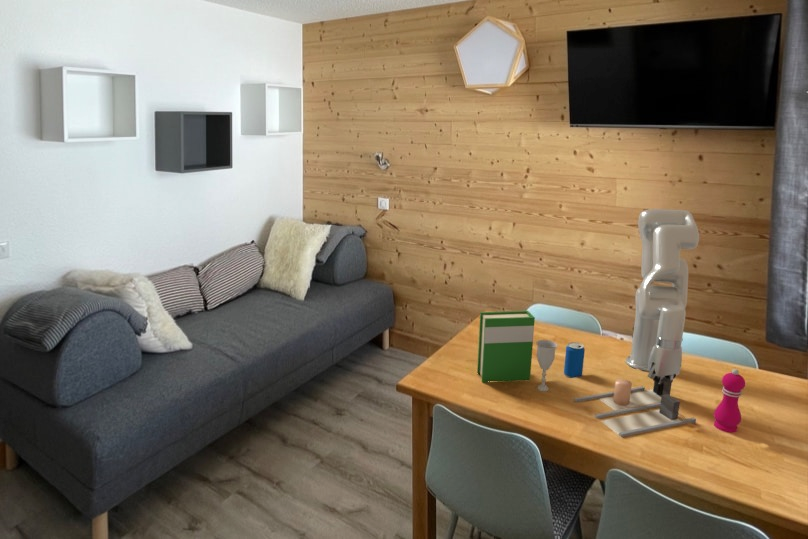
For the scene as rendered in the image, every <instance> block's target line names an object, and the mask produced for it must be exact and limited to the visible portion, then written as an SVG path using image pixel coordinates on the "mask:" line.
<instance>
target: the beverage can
mask: <svg viewBox="0 0 808 539" xmlns="http://www.w3.org/2000/svg"><path fill="white" fill-rule="evenodd" d="M585 350H586V349H585V346H584V344H583V343H580V342H573V341H572V342H569V343H567V345H566V347H565V356H564V367H563V374H564V375H565V376H566V377H567V378H569V379H575V378H579V377H582V376H583V372H584V371H583V370H584V360H585V352H586V351H585Z"/></svg>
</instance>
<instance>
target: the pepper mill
mask: <svg viewBox="0 0 808 539" xmlns="http://www.w3.org/2000/svg"><path fill="white" fill-rule="evenodd" d="M721 384H722V385H723V387H722V390H721V392H722V393H723V396H722V400H721V401H720V403H719V404H718V405H717V407H716V408H715V409H714V413H713V417H714V420H713V421H714V422H713V426H714V427H715V429H717V430H718V431H721V432H724V433H731V434H732V433H736V432H738V429H739V427H738V425H739V424H741V422H742V414H741V410H740V407H739V398H740V397H742V393H743V391H742V390H743V389H744V388H745V387H746V380H745V378H744V377H743V375H741V374H740V371H739V369H737V368H733V369H732V370H731V372H728V373H725V374H724V375H723V376H722V379H721Z"/></svg>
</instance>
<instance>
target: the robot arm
mask: <svg viewBox="0 0 808 539" xmlns="http://www.w3.org/2000/svg"><path fill="white" fill-rule="evenodd" d="M637 220H638V223H637V226H638V227H637V228H638V232H639V236H640V240H641V244H642V246H641V247H642V249H641V266H640V268H641V269H640V273H641V277H642V282H641V283H640V286H639V287H638V288H637V289H636V292H635V297H634V298H635V318H634V325H633V326H634V327H633V332H632V333H633V334H632V343H631V350H630V355H629V356H626V358H625V363H626V365H628V366H630V367H631V368H633V369H636V370H640V371H644V372H645V371H647V372H648V374H647V377H648V378H649V379H650V380H652V381H653V387H654V392H655V393H657V394H658V395H662V390H663V384H662V381H663V376H664V377H666V378H668V379H670V380H671V381H672V383H673V382H674V379H675V378H676V377H677V376H678V375H680V374H681V369H682V360H683V347H682V342H683V339H684V338H683V334H684V329H685V322H686V314H687V311H686V307H687V301H688V289H689V288H688V286H689V265H688V263H687V261H686V260H685V259H684V258H681V250H695V249H696V248H697V247H698V245H699V243H700V232H699V228H698V225H697V223H696V221H695V219H694V216H693V214H692V213H691V212H690V211H688V210H685V209H668V208H667V209H665V208H649V209H644V210H643V211H641V212H640V213H639V215H638V219H637ZM653 282H654V283H665V284H667V283H668V284H671V285H672V286H669V285H668V286H666V285H665V286H664V285H652V283H653ZM658 377H659V379H658ZM654 382H655V384H654Z"/></svg>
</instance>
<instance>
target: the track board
mask: <svg viewBox="0 0 808 539" xmlns="http://www.w3.org/2000/svg"><path fill="white" fill-rule="evenodd" d="M645 390H646V389H645V386H642V385H641V386H638V387H637V386H636V387H631V393H634V392H639V391H645ZM611 396H614V391H610V392H609V391H608V392H603V393H599V394H598V393H597V394H591V395H586V396H581V397H574V398H573V401H574V402H575V403H580V402H584V401H591V400H595V399H596V400H597V399H600V398H606V397H611ZM660 404H661V402H659V403H658V402H657V403H652V404H646V405H641V406H636V407H630V408H625V409H620V410H615V411H614V410H611V411H606V412H601V413H597V414H595V416H594V418H596V419H597V420H598V419H603V418H607V417H612V416H613V417H614V416H618V415H623V414H627V413H629V414H630V413H633V412H639V411H644V410H649V409H654V408H660ZM678 415H679V416H680V417H681V418H683V419H679V420H678V421H673V422H668V423H664V424H659V425H654V426H649V427H644V428H639V429H634V430H629V431H625V432H620V433H619V435H618V436H619V437H620V438H624V437H627V436H633V435H638V434H642V433H648V432H652V431H657V430H658V431H659V430H662V429H667V428H672V427H676V426H682V425H687V424H693V425H697V423H696V422H697V418H696V417H689V418H688V417H686V416H684V415H682V414H681V413H679V412H678Z"/></svg>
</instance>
